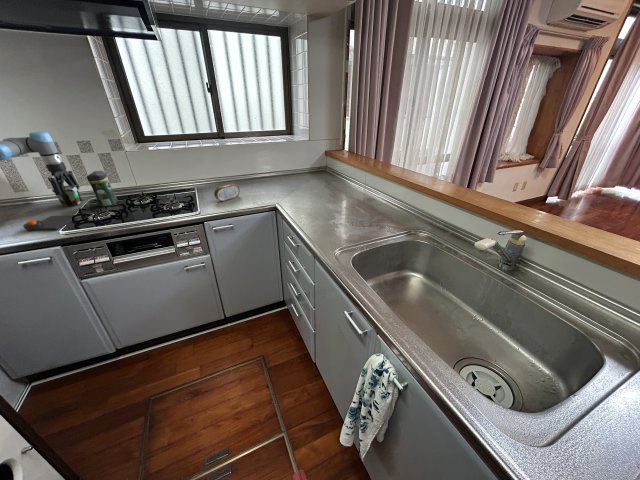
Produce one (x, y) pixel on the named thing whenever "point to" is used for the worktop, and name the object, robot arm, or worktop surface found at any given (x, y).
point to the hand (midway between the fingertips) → (74, 203)
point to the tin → (227, 192)
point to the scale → (49, 223)
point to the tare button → (31, 222)
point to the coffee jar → (102, 188)
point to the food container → (70, 196)
